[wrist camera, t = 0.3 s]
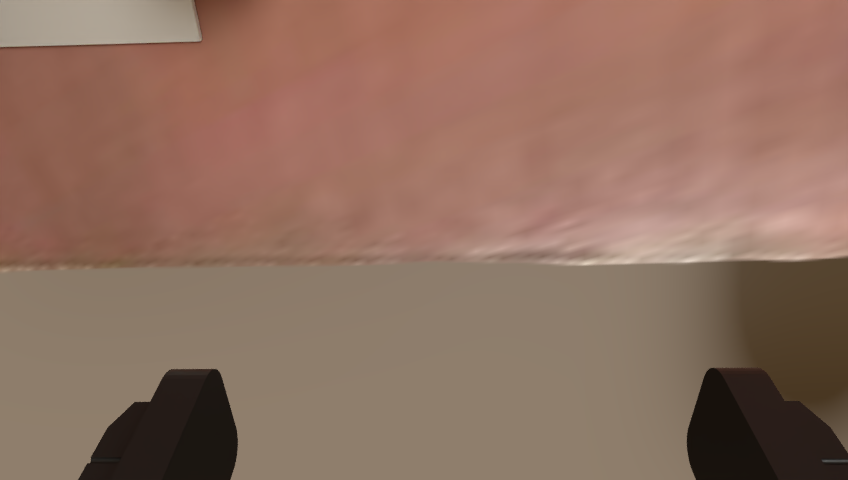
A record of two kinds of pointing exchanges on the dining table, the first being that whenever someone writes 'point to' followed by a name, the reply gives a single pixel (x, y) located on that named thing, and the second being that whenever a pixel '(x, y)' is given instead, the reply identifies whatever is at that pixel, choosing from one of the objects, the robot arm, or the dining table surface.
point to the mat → (97, 22)
